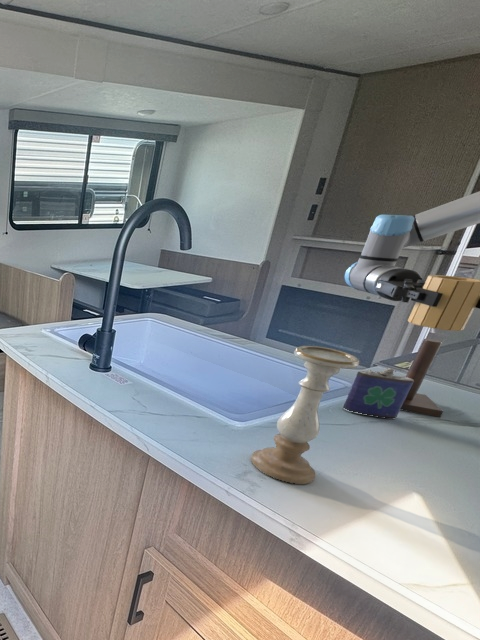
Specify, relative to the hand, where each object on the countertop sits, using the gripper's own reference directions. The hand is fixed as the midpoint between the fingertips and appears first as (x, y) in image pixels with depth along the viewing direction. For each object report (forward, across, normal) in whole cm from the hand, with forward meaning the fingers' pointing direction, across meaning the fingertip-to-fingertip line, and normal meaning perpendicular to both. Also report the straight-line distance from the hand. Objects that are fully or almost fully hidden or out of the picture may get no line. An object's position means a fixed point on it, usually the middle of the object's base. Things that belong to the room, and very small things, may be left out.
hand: (465, 302), depth 86 cm
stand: (-2, 0, -24) cm, 24 cm away
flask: (+7, +12, -24) cm, 28 cm away
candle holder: (+37, +39, -24) cm, 59 cm away
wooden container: (-5, 0, -6) cm, 8 cm away
